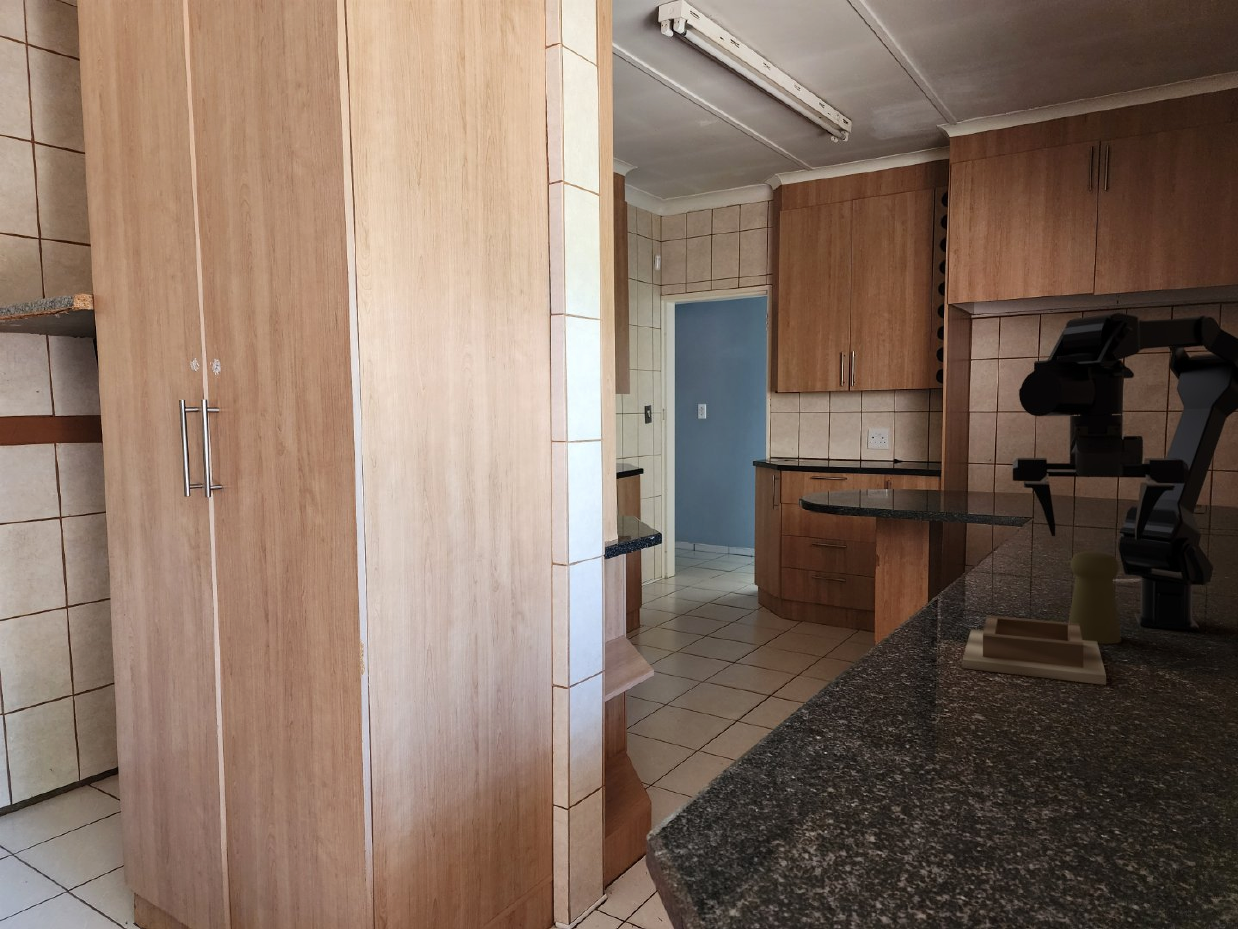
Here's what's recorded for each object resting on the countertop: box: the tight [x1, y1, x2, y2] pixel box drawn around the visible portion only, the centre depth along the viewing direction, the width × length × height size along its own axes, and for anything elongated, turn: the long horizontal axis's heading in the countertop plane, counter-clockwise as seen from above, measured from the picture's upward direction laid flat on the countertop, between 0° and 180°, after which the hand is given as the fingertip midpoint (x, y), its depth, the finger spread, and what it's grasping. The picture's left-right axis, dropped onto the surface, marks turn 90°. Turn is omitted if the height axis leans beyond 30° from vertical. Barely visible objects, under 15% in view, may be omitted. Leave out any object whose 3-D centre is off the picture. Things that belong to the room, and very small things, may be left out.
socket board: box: [962, 615, 1107, 686], centre depth 92 cm, size 14×14×4 cm
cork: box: [1068, 550, 1122, 645], centre depth 100 cm, size 6×6×11 cm
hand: (1094, 537), depth 100 cm, fingers open, 9 cm apart
